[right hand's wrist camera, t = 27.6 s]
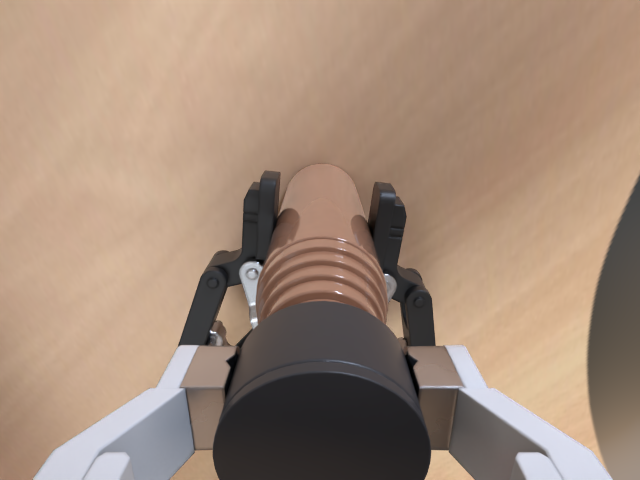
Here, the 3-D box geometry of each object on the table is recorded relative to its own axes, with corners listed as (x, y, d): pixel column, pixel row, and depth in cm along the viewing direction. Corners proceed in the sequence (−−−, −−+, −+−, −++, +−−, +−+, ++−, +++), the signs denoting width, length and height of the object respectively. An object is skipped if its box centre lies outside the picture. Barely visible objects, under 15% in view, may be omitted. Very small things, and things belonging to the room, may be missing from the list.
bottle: (363, 225, 26) (441, 495, 9) (295, 239, 26) (248, 523, 10) (350, 156, 24) (414, 327, 8) (277, 172, 25) (183, 369, 8)
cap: (214, 319, 10) (179, 396, 7) (390, 282, 9) (413, 350, 7) (264, 448, 11) (249, 546, 9) (417, 421, 11) (444, 515, 9)
